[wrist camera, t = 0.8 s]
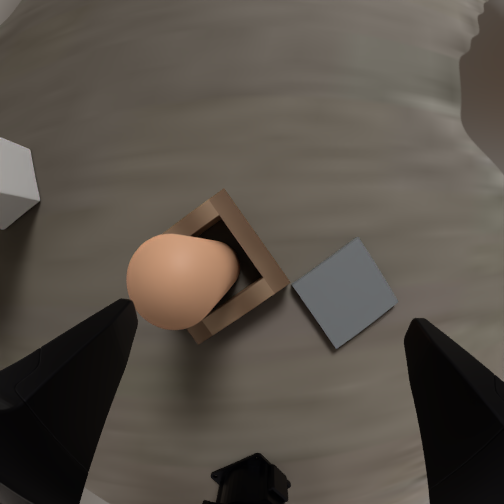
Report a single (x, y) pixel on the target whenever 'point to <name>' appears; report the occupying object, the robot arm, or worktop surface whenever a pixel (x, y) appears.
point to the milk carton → (16, 182)
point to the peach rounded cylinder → (180, 279)
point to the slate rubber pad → (345, 292)
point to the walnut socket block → (254, 248)
